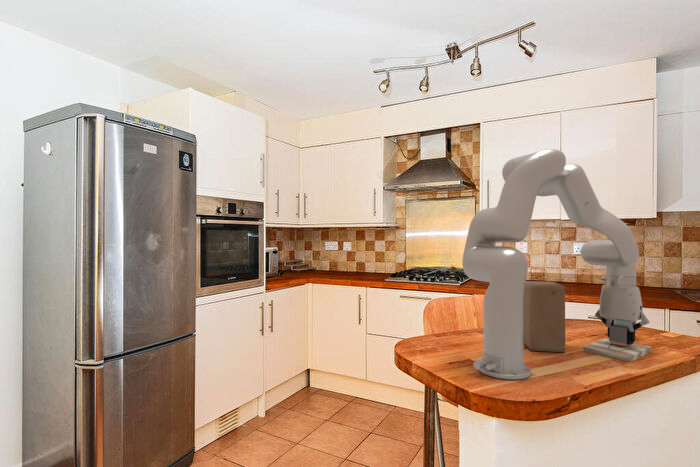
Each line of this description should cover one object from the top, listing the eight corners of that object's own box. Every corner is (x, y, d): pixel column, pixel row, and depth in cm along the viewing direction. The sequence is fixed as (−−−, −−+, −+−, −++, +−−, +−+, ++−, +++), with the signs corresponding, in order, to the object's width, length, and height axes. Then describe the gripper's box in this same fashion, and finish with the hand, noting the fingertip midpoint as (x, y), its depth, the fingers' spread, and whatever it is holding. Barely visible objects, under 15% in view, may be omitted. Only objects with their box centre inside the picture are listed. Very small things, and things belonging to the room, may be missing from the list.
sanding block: (625, 345, 112) (624, 328, 112) (609, 342, 116) (609, 326, 116) (632, 342, 116) (632, 326, 116) (617, 339, 119) (617, 323, 119)
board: (630, 361, 104) (630, 356, 104) (583, 351, 114) (583, 346, 114) (651, 351, 114) (651, 346, 114) (606, 342, 123) (606, 338, 124)
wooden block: (566, 353, 112) (566, 285, 112) (530, 351, 114) (529, 284, 114) (555, 344, 122) (555, 281, 122) (521, 342, 124) (521, 280, 124)
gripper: (585, 279, 121) (585, 338, 120) (650, 285, 107) (650, 351, 107) (595, 278, 125) (596, 334, 125) (659, 283, 111) (659, 346, 111)
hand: (621, 341), depth 116 cm, fingers closed on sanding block, 4 cm apart
